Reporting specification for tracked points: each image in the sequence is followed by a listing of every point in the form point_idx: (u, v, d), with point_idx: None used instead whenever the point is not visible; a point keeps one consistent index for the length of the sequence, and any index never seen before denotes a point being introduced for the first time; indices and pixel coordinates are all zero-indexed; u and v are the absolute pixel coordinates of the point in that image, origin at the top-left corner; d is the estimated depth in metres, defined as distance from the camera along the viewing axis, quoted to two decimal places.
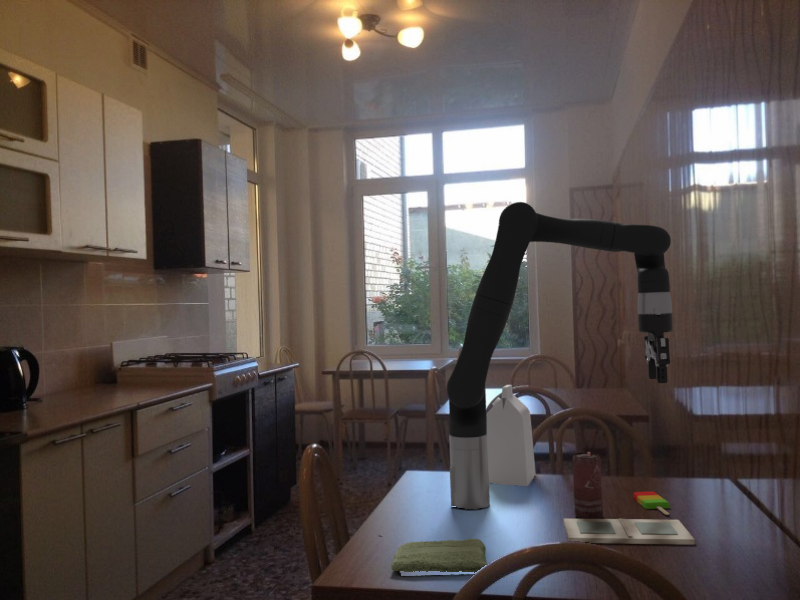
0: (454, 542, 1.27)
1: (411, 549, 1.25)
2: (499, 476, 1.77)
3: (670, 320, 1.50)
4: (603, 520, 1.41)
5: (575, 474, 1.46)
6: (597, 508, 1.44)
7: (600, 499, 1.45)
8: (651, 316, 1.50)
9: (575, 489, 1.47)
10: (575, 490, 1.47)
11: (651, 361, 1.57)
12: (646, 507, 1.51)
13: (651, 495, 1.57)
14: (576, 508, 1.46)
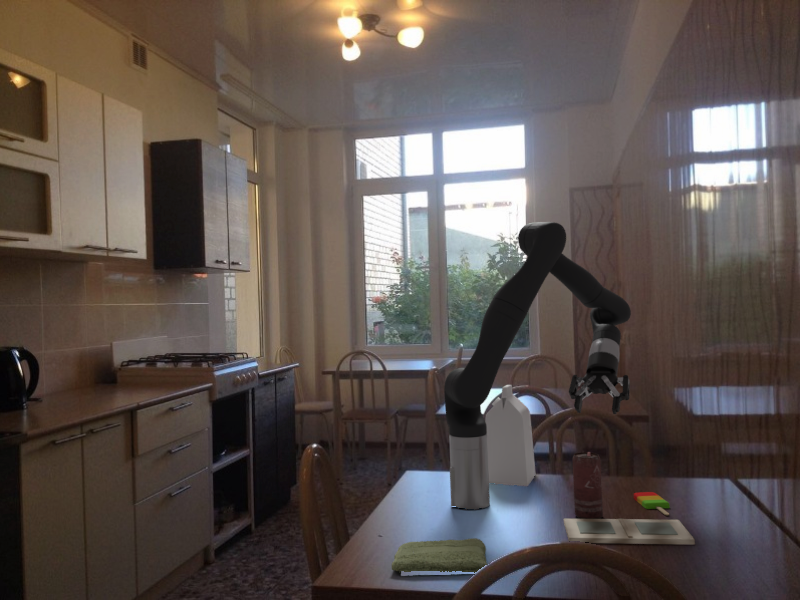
0: (454, 542, 1.27)
1: (411, 549, 1.25)
2: (499, 476, 1.77)
3: None
4: (603, 520, 1.41)
5: (575, 474, 1.46)
6: (597, 508, 1.44)
7: (600, 499, 1.45)
8: (615, 359, 1.65)
9: (575, 489, 1.47)
10: (575, 490, 1.47)
11: (580, 396, 1.62)
12: (646, 507, 1.51)
13: (651, 495, 1.57)
14: (576, 508, 1.46)
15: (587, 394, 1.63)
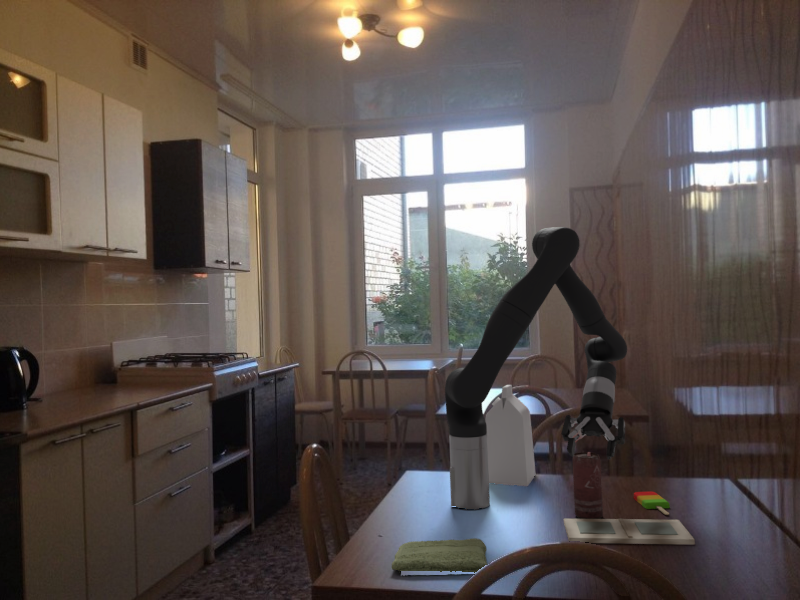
0: (455, 542, 1.27)
1: (412, 549, 1.25)
2: (499, 476, 1.77)
3: None
4: (603, 520, 1.41)
5: (575, 474, 1.46)
6: (597, 508, 1.44)
7: (600, 499, 1.45)
8: (610, 399, 1.58)
9: (575, 489, 1.47)
10: (575, 490, 1.47)
11: (574, 438, 1.55)
12: (646, 507, 1.51)
13: (651, 494, 1.57)
14: (576, 508, 1.46)
15: (581, 436, 1.56)
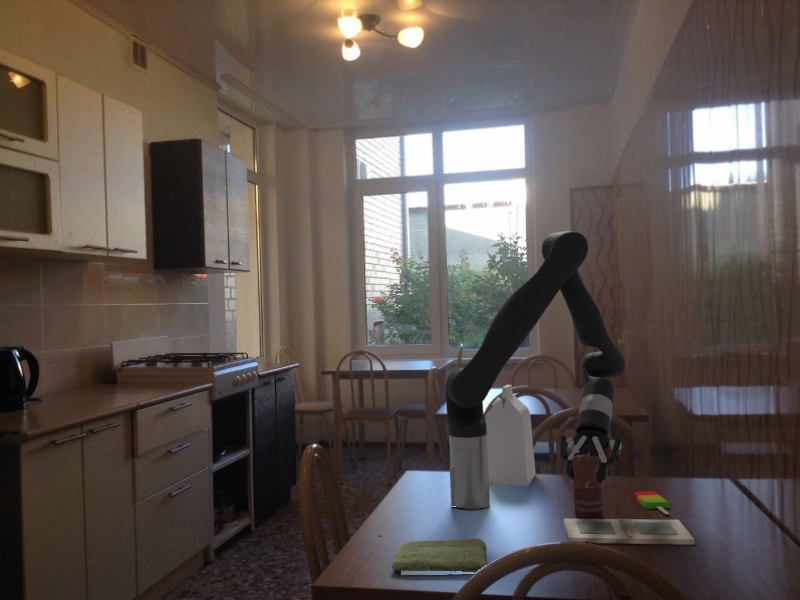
0: (455, 542, 1.27)
1: (412, 549, 1.25)
2: (499, 476, 1.77)
3: None
4: (603, 520, 1.41)
5: (575, 474, 1.46)
6: (597, 508, 1.44)
7: (600, 499, 1.45)
8: (607, 417, 1.53)
9: (575, 489, 1.47)
10: (575, 490, 1.47)
11: None
12: (646, 507, 1.51)
13: (651, 494, 1.57)
14: (576, 508, 1.46)
15: None
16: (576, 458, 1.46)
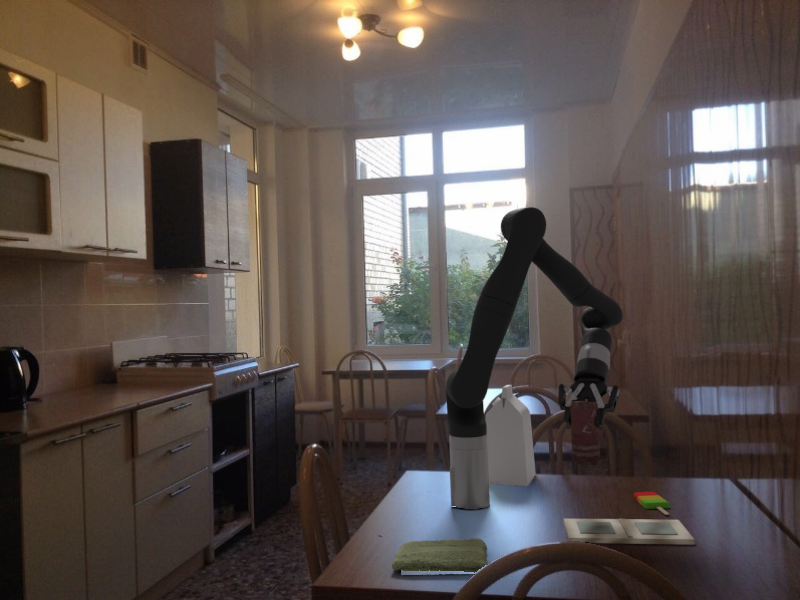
0: (455, 542, 1.28)
1: (412, 548, 1.25)
2: (499, 476, 1.77)
3: None
4: (603, 520, 1.41)
5: (572, 419, 1.47)
6: (594, 453, 1.45)
7: (597, 444, 1.45)
8: (605, 365, 1.54)
9: (572, 435, 1.47)
10: (572, 436, 1.47)
11: None
12: (646, 507, 1.51)
13: (651, 495, 1.57)
14: (573, 453, 1.47)
15: None
16: (574, 403, 1.46)
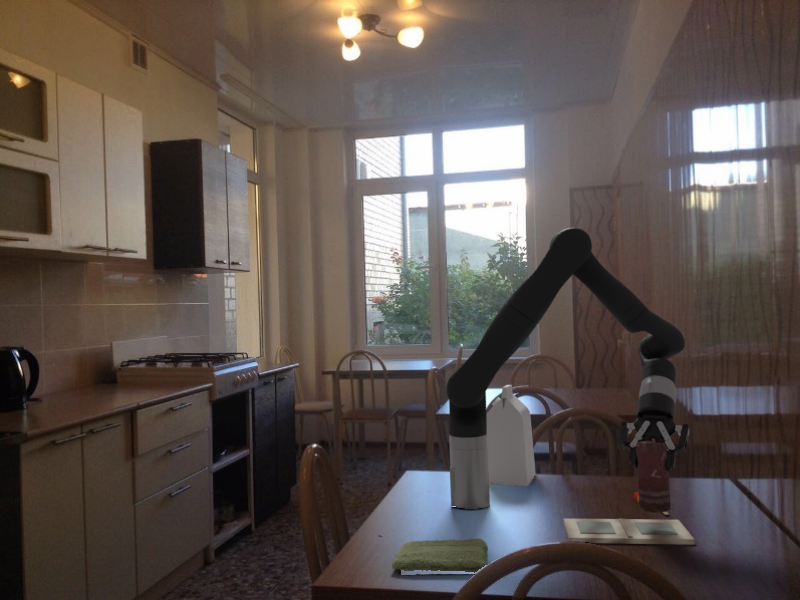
0: (456, 541, 1.28)
1: (413, 548, 1.25)
2: (499, 476, 1.77)
3: None
4: (603, 520, 1.41)
5: (640, 462, 1.34)
6: (665, 500, 1.32)
7: (668, 489, 1.33)
8: (672, 401, 1.41)
9: (640, 479, 1.34)
10: (640, 480, 1.34)
11: None
12: None
13: None
14: (641, 499, 1.34)
15: None
16: (641, 445, 1.34)
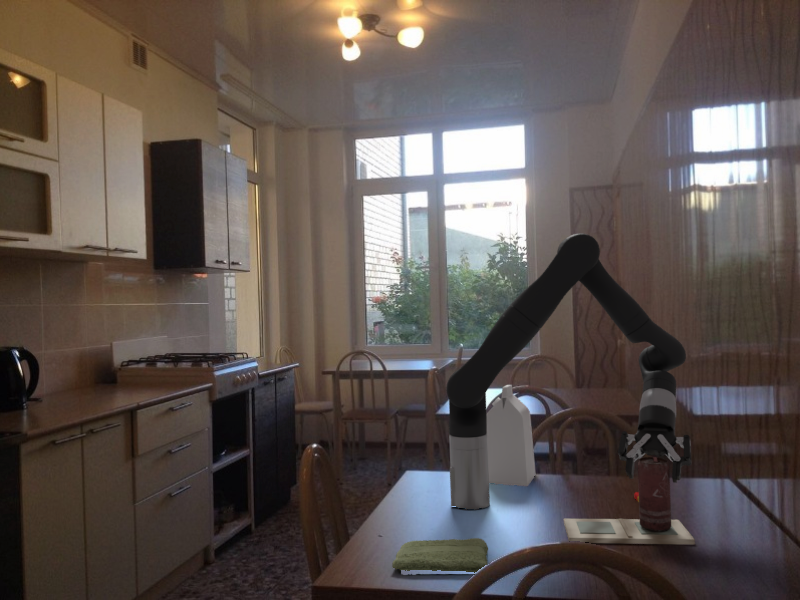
0: (456, 541, 1.28)
1: (413, 548, 1.26)
2: (499, 476, 1.77)
3: None
4: (603, 520, 1.41)
5: (641, 481, 1.34)
6: (666, 519, 1.32)
7: (669, 509, 1.32)
8: (673, 414, 1.41)
9: (641, 498, 1.34)
10: (641, 499, 1.34)
11: (632, 458, 1.38)
12: None
13: None
14: (642, 518, 1.34)
15: (640, 455, 1.39)
16: (643, 464, 1.33)
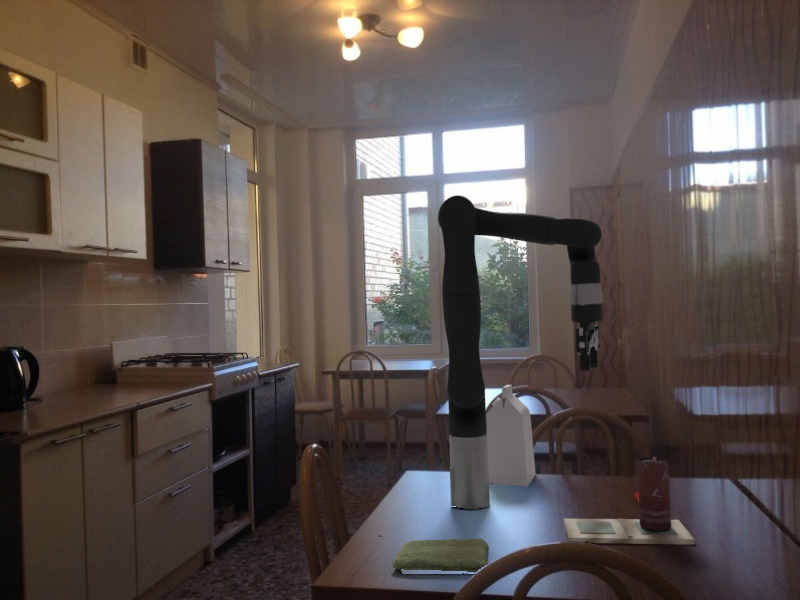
0: (457, 541, 1.28)
1: (414, 548, 1.26)
2: (499, 476, 1.77)
3: (596, 310, 1.56)
4: (603, 520, 1.41)
5: (641, 481, 1.34)
6: (666, 519, 1.32)
7: (669, 509, 1.33)
8: (577, 307, 1.57)
9: (641, 498, 1.34)
10: (641, 499, 1.34)
11: (591, 350, 1.63)
12: None
13: None
14: (642, 518, 1.34)
15: (594, 344, 1.61)
16: (642, 464, 1.34)
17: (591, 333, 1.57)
